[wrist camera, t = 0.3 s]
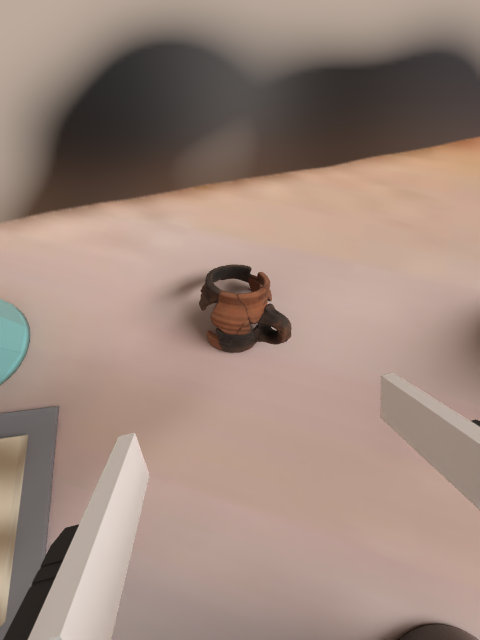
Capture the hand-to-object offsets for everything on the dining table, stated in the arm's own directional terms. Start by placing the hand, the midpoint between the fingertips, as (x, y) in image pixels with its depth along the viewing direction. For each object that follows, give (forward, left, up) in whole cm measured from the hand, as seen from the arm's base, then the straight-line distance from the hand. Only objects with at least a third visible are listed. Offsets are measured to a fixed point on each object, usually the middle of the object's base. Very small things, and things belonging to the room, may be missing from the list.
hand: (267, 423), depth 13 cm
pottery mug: (+11, -1, -17) cm, 20 cm away
